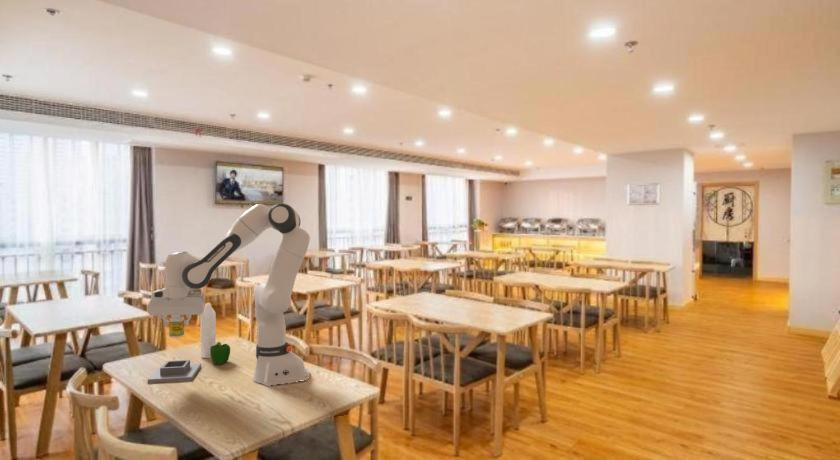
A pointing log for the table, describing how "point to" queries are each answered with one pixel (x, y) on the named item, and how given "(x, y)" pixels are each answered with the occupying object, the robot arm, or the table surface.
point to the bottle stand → (175, 372)
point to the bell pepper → (220, 353)
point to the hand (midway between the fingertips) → (176, 325)
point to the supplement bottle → (176, 326)
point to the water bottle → (208, 330)
